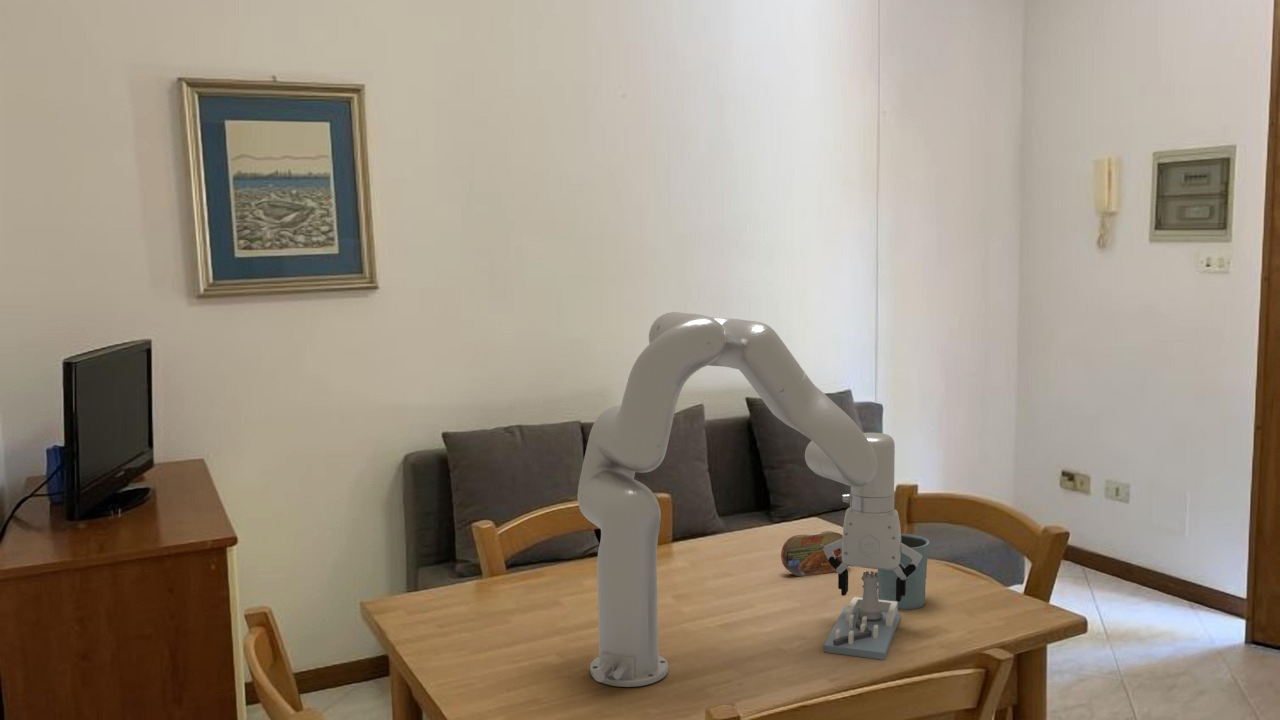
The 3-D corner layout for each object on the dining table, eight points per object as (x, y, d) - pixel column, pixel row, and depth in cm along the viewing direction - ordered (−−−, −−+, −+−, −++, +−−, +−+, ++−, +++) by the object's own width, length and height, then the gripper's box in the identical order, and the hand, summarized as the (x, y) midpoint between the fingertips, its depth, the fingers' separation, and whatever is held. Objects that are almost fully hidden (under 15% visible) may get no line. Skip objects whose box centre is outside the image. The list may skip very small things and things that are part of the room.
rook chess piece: (864, 611, 188) (864, 568, 187) (887, 616, 185) (887, 572, 185) (853, 617, 185) (853, 574, 184) (876, 622, 182) (876, 578, 181)
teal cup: (890, 613, 190) (891, 550, 189) (864, 595, 200) (864, 535, 199) (939, 607, 193) (940, 544, 192) (911, 589, 203) (911, 530, 201)
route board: (884, 659, 169) (884, 642, 169) (823, 652, 173) (823, 634, 172) (900, 617, 188) (900, 601, 187) (845, 611, 191) (845, 596, 191)
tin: (785, 578, 211) (785, 538, 210) (779, 574, 214) (778, 534, 213) (851, 570, 215) (851, 531, 214) (843, 566, 218) (843, 527, 217)
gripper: (819, 504, 182) (819, 597, 184) (920, 512, 176) (918, 608, 178) (827, 494, 189) (827, 584, 191) (924, 501, 183) (923, 594, 185)
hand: (871, 596), depth 185 cm, fingers open, 9 cm apart
